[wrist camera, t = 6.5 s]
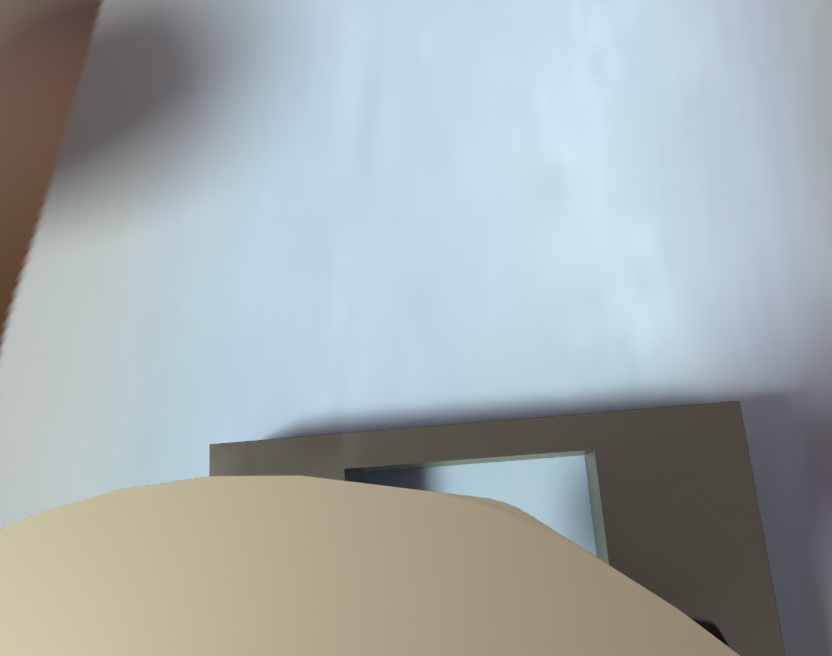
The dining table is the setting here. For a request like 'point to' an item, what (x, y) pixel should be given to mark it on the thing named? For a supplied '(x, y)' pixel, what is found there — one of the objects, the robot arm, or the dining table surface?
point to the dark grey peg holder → (599, 495)
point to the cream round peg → (317, 578)
